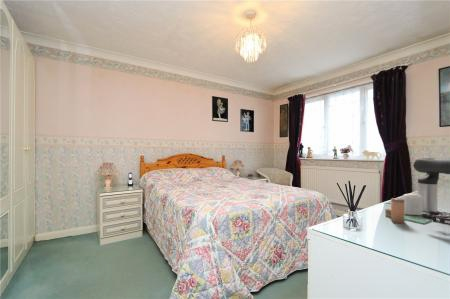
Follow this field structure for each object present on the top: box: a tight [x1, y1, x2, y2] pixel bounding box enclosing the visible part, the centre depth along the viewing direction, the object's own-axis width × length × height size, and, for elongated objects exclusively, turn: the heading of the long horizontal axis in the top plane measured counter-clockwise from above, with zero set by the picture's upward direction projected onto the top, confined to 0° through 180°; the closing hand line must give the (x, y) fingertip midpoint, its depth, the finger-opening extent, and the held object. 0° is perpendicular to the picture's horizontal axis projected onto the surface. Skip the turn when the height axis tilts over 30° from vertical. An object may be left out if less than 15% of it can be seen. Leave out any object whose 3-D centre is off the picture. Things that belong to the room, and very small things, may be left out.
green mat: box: [405, 215, 433, 225], centre depth 119 cm, size 10×10×1 cm
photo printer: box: [401, 193, 424, 216], centre depth 131 cm, size 10×4×12 cm, turn 84°
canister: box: [390, 197, 406, 225], centre depth 117 cm, size 6×6×12 cm
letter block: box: [385, 208, 391, 218], centre depth 126 cm, size 4×4×4 cm
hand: (426, 214), depth 106 cm, fingers open, 8 cm apart
